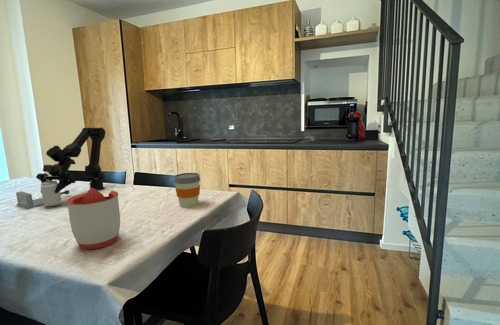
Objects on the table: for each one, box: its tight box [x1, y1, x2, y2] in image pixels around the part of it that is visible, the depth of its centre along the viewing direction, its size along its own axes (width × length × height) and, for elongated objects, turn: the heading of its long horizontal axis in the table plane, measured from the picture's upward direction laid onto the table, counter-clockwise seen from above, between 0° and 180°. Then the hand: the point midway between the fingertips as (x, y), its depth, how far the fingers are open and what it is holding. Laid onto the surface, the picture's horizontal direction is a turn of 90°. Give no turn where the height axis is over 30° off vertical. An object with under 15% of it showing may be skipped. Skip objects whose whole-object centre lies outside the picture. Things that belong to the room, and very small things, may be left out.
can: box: [40, 180, 63, 207], centre depth 135 cm, size 8×8×12 cm
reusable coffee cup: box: [173, 172, 201, 208], centre depth 133 cm, size 13×12×15 cm
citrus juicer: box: [65, 188, 121, 250], centre depth 94 cm, size 16×17×20 cm
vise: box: [15, 189, 70, 210], centre depth 145 cm, size 22×13×7 cm, turn 148°
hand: (48, 192), depth 134 cm, fingers closed on can, 7 cm apart
